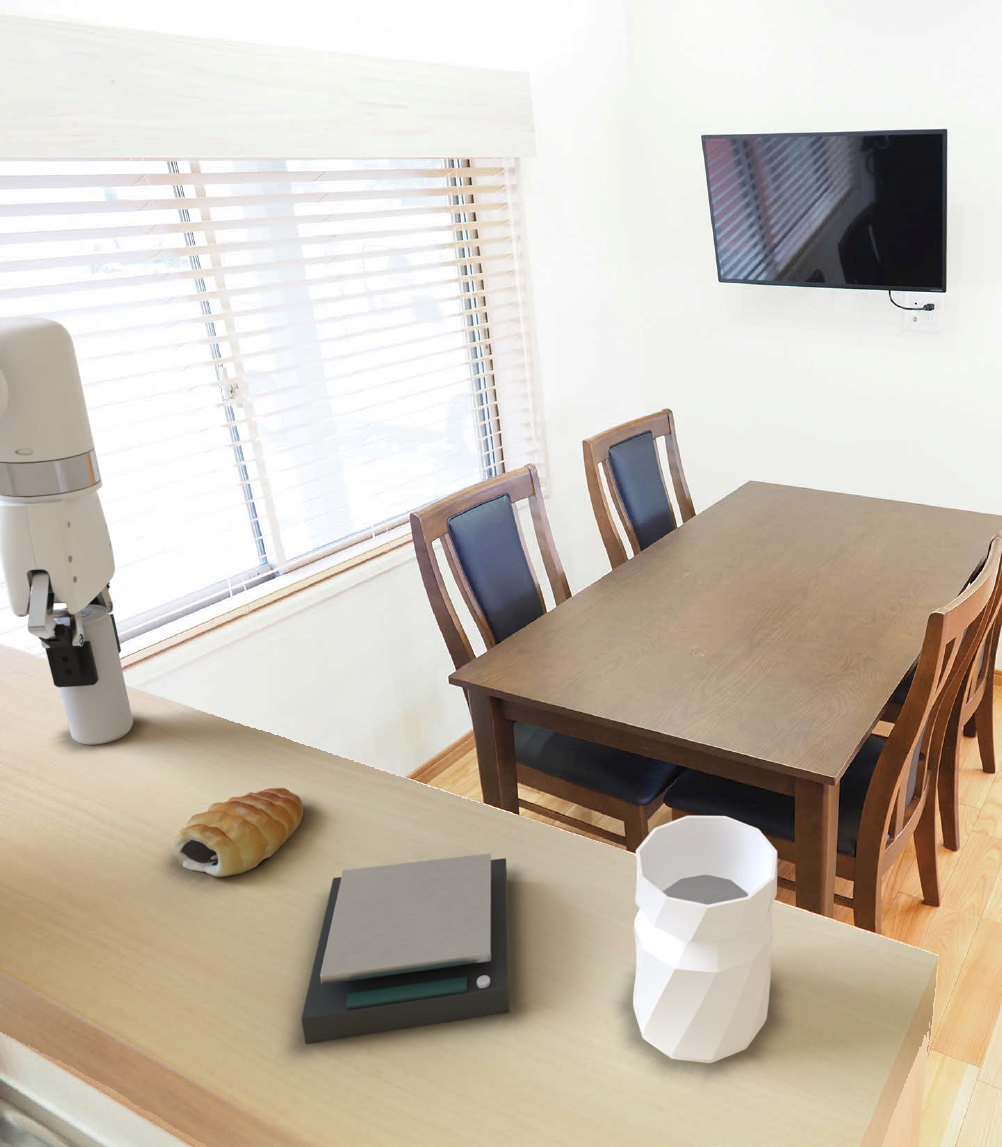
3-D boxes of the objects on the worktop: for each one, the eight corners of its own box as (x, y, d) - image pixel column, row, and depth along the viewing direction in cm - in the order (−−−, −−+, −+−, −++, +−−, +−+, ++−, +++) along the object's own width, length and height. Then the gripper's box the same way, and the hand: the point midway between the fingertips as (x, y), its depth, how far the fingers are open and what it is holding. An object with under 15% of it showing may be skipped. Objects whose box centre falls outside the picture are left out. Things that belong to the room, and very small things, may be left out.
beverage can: (58, 742, 87) (28, 621, 83) (104, 717, 92) (78, 600, 87) (103, 751, 86) (75, 629, 82) (147, 725, 91) (122, 608, 86)
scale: (305, 1046, 59) (300, 1015, 58) (336, 902, 70) (332, 874, 69) (509, 1014, 62) (508, 984, 61) (507, 881, 73) (505, 854, 72)
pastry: (262, 799, 81) (256, 760, 80) (328, 819, 79) (323, 779, 78) (164, 866, 73) (156, 824, 71) (235, 890, 71) (228, 848, 70)
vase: (723, 1089, 58) (731, 929, 53) (605, 1026, 61) (604, 872, 57) (791, 993, 65) (804, 844, 60) (682, 942, 69) (686, 799, 64)
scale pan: (321, 985, 59) (319, 975, 59) (343, 879, 68) (342, 869, 68) (491, 962, 62) (490, 951, 61) (491, 862, 71) (490, 853, 70)
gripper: (35, 447, 87) (78, 632, 93) (-62, 506, 71) (-4, 721, 78) (130, 446, 89) (165, 627, 95) (55, 503, 73) (103, 714, 80)
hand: (89, 667), depth 87 cm, fingers closed on beverage can, 4 cm apart
